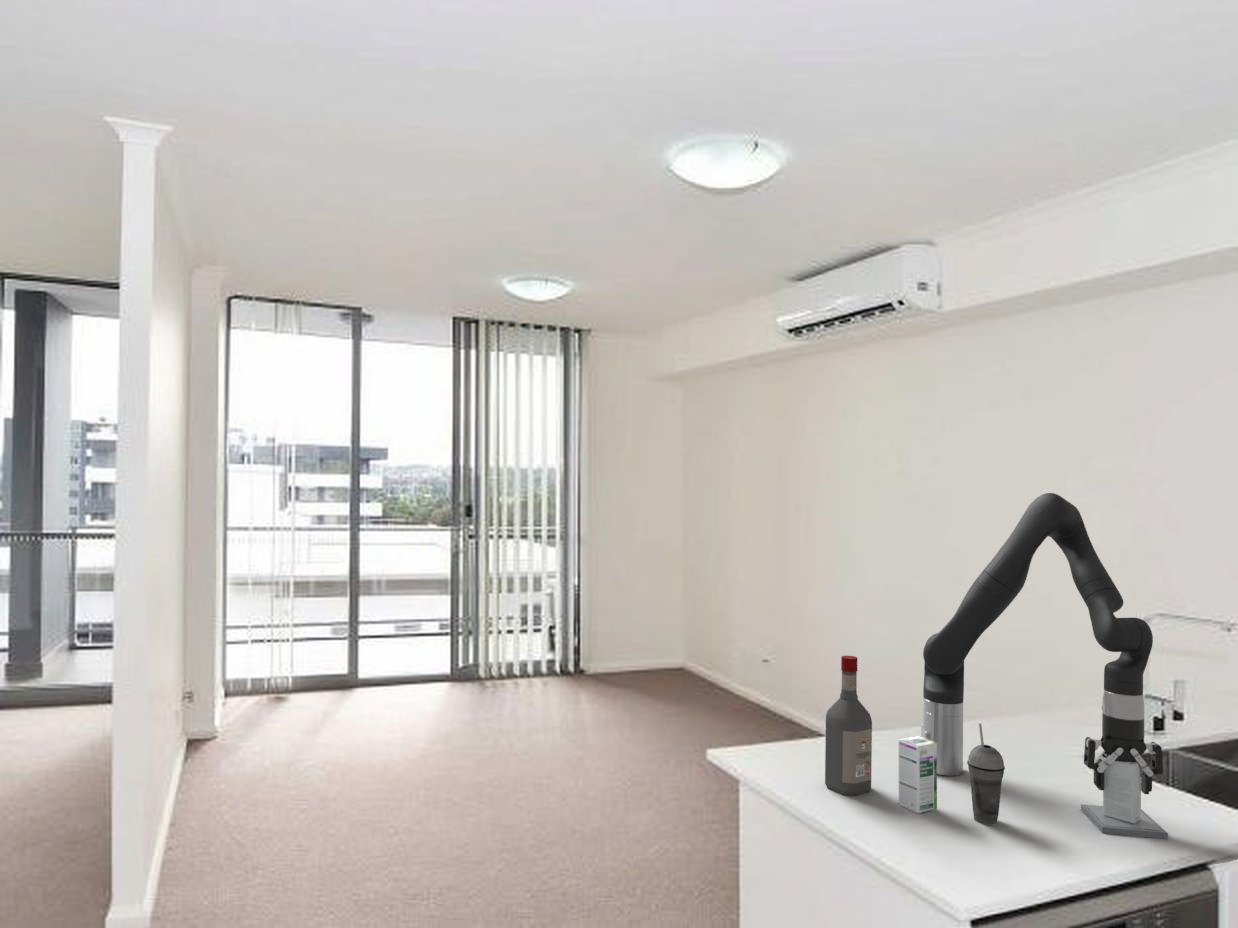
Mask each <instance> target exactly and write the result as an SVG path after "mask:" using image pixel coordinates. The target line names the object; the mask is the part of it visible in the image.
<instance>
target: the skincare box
mask: <svg viewBox="0 0 1238 928" xmlns="http://www.w3.org/2000/svg"><path fill="white" fill-rule="evenodd" d="M1105 758H1107V757H1105ZM1103 773H1104V790H1102V793H1103V794H1102V798H1103V799H1102V804H1103V805H1102V806H1103V815H1104V816H1108V817H1112V818H1115V819H1119V820H1122V821H1126V822H1130V823H1133V824H1135V823H1136V822H1138V821H1139V820H1140V819H1141V809H1142V791H1141V773H1142V770H1141V767H1140V765H1139V764H1138V762H1137V761H1136V762H1122V761H1114V762H1113V763H1112V764H1111V765H1110V766H1108V767H1107V768H1106V769H1105V770H1104V771H1103Z"/></svg>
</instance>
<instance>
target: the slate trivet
mask: <svg viewBox="0 0 1238 928" xmlns="http://www.w3.org/2000/svg"><path fill="white" fill-rule="evenodd" d="M1080 811H1081V812H1082V813H1083V814H1084V815H1085V816H1086V817H1087V818H1088V819H1089V821H1091V823H1093V825H1094V826H1095V827H1096V828H1097V829H1098V830H1099V831H1100V832H1101V833H1102V834H1108V835H1109V834H1110V835H1121V836H1131V837H1142V838H1154V839H1165V840H1168V837H1169V833H1168V831H1166V830H1165V829H1164V828H1163V827H1162V826H1161V825H1160V824H1158V823H1157V822H1156V820H1154V819H1153V818H1152V817H1151V816H1149V815H1148V814H1147V813H1146V812H1145V811H1144V810H1143V809H1142V808H1141V819H1140V820H1139V821H1138V822H1136V823H1135V824H1133V823H1130V822H1126V821H1122V820H1119V819H1115V818H1112V817H1108V816H1104V815H1103V805H1094V804H1086V803H1085V804H1083V803H1081V804H1080Z"/></svg>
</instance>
